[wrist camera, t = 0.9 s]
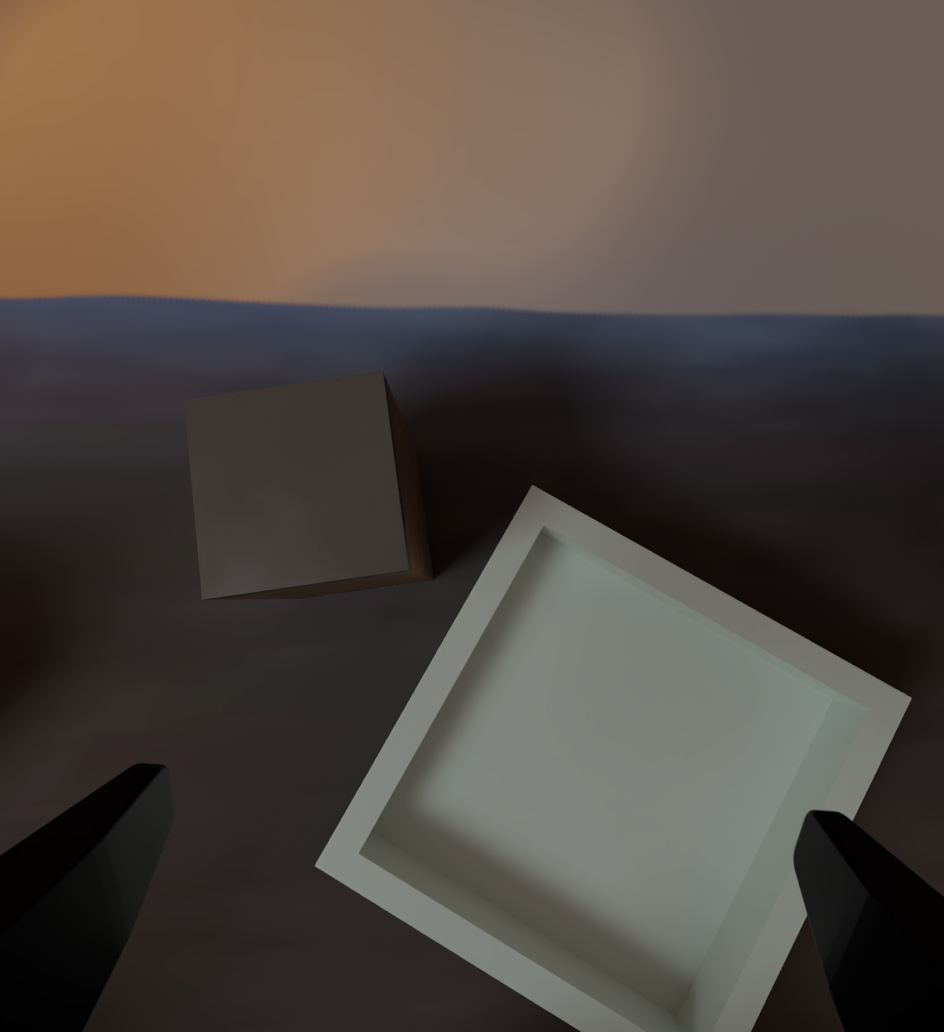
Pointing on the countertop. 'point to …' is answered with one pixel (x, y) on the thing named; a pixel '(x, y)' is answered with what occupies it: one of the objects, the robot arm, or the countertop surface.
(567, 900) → the tray
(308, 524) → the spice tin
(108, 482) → the countertop surface
